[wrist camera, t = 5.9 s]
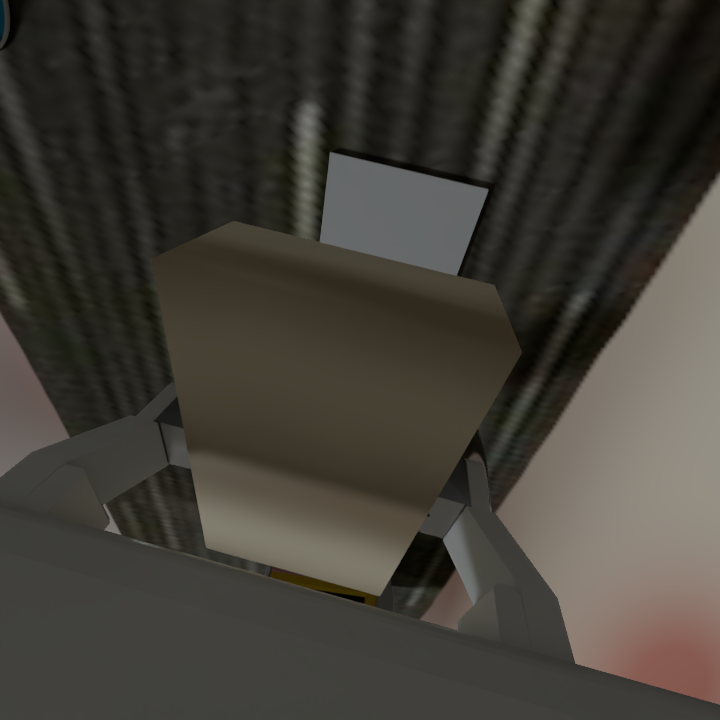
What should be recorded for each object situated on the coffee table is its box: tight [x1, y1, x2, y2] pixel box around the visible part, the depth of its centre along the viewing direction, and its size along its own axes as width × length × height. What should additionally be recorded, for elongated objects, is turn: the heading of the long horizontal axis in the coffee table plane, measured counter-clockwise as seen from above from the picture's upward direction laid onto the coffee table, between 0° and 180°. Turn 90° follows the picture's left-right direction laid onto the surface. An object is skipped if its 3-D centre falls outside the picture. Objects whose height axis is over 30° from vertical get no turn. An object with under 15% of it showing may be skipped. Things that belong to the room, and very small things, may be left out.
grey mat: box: [320, 152, 489, 276], centre depth 28 cm, size 12×12×1 cm
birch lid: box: [151, 221, 522, 596], centre depth 10 cm, size 11×7×3 cm, turn 168°
